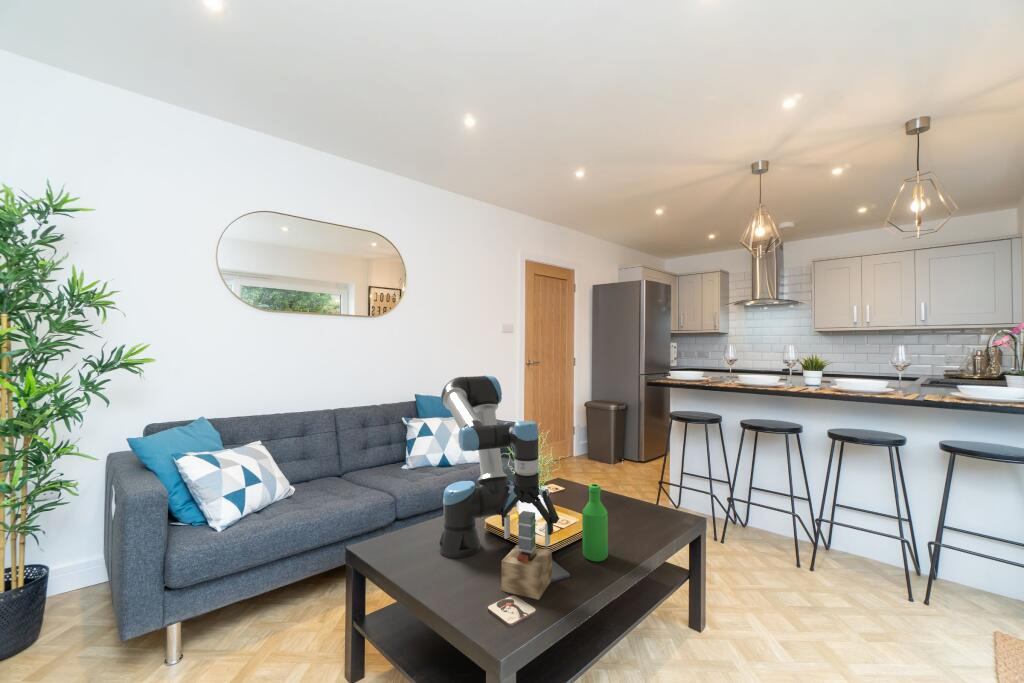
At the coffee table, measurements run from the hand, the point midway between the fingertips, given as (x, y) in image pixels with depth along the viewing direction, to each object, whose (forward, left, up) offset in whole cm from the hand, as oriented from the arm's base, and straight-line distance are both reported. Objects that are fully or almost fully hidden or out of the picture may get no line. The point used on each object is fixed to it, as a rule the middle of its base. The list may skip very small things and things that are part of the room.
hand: (527, 540), depth 137 cm
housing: (0, 0, -14) cm, 14 cm away
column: (0, 0, -14) cm, 14 cm away
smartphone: (+3, +12, -14) cm, 19 cm away
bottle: (+15, +26, -14) cm, 33 cm away
